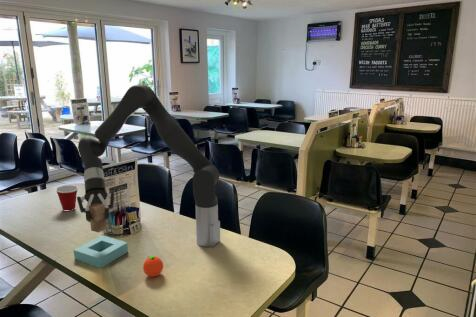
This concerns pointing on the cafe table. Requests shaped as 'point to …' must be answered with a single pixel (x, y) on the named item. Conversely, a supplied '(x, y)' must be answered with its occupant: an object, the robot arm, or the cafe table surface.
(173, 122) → the robot arm
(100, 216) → the peg
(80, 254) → the socket block
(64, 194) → the plastic cup
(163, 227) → the cafe table surface
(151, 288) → the cafe table surface
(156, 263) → the clementine
